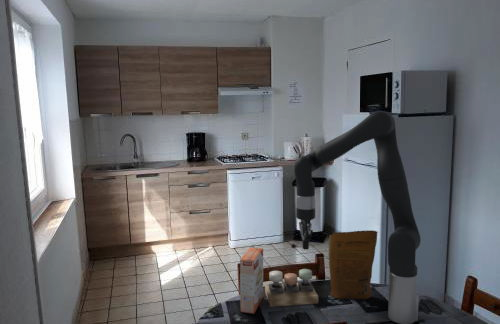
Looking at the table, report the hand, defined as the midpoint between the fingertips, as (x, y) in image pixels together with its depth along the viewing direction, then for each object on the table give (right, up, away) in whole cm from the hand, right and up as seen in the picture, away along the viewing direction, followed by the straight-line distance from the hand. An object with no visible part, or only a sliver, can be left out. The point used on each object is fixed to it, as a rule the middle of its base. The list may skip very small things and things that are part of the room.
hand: (305, 248), depth 162 cm
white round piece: (-12, -15, +1) cm, 19 cm away
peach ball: (-6, -16, +2) cm, 17 cm away
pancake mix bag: (+19, -20, +1) cm, 27 cm away
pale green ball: (0, -14, +2) cm, 14 cm away
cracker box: (-21, -21, -4) cm, 30 cm away
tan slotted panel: (-6, -20, +2) cm, 21 cm away
